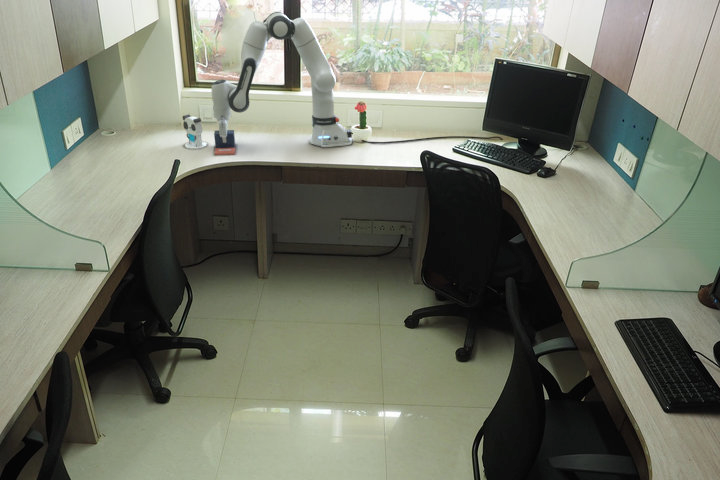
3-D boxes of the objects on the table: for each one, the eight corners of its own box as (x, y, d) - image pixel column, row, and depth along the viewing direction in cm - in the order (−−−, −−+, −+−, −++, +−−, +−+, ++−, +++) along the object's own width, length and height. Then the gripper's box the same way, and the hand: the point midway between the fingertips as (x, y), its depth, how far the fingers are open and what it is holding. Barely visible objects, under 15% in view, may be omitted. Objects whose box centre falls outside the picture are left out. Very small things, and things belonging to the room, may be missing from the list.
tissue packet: (235, 149, 320) (234, 147, 319) (234, 154, 314) (234, 151, 313) (215, 150, 319) (215, 147, 318) (215, 155, 313) (214, 152, 312)
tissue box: (235, 144, 326) (233, 128, 322) (235, 148, 321) (233, 132, 317) (216, 145, 325) (214, 129, 321) (215, 149, 320) (214, 133, 316)
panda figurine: (179, 145, 326) (175, 116, 317) (197, 140, 332) (194, 112, 324) (193, 150, 319) (189, 121, 311) (211, 145, 326) (207, 116, 317)
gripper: (228, 119, 306) (230, 146, 313) (229, 107, 323) (231, 133, 330) (215, 119, 305) (217, 146, 312) (217, 108, 322) (219, 134, 329)
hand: (224, 139), depth 321 cm, fingers closed on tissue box, 6 cm apart
